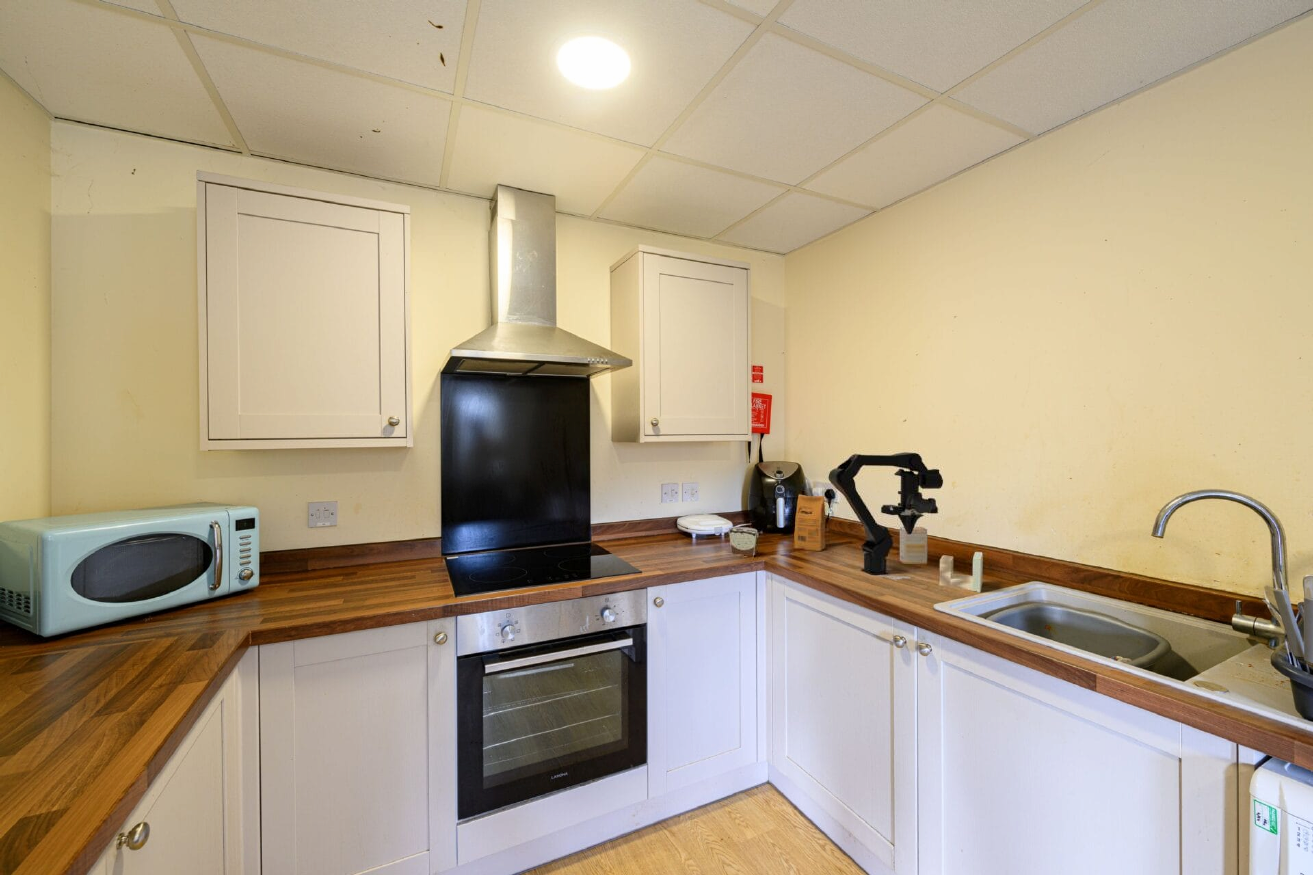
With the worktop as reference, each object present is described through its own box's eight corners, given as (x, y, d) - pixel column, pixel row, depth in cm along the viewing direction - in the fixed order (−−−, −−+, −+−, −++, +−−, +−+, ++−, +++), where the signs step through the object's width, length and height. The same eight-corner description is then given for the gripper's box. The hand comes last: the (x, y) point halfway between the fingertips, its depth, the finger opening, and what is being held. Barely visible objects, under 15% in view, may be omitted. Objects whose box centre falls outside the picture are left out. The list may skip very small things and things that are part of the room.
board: (972, 591, 160) (972, 558, 160) (974, 582, 169) (975, 551, 169) (980, 592, 159) (980, 559, 158) (982, 583, 168) (982, 552, 167)
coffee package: (799, 544, 225) (799, 492, 224) (828, 548, 217) (828, 495, 217) (790, 548, 216) (790, 495, 216) (820, 552, 209) (821, 497, 209)
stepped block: (939, 585, 166) (939, 560, 166) (942, 579, 173) (942, 555, 172) (972, 590, 161) (973, 564, 161) (974, 584, 167) (974, 559, 167)
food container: (763, 554, 205) (763, 529, 205) (757, 557, 200) (757, 531, 200) (734, 550, 212) (734, 525, 212) (727, 553, 207) (727, 528, 207)
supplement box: (922, 561, 196) (922, 526, 195) (927, 565, 191) (927, 529, 191) (898, 561, 196) (899, 526, 196) (903, 564, 192) (904, 528, 191)
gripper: (902, 492, 171) (901, 540, 171) (950, 490, 175) (950, 537, 176) (880, 488, 182) (879, 533, 182) (926, 487, 186) (925, 531, 187)
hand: (909, 534), depth 181 cm, fingers closed
